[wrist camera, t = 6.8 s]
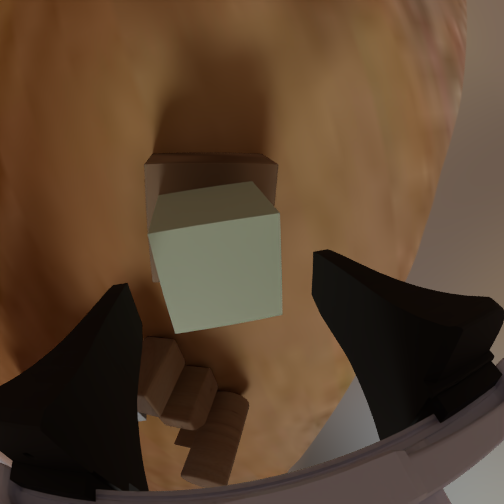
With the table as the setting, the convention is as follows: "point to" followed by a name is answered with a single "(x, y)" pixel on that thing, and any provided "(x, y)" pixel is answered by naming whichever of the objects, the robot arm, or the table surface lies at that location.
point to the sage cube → (217, 256)
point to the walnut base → (204, 177)
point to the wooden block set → (192, 410)
